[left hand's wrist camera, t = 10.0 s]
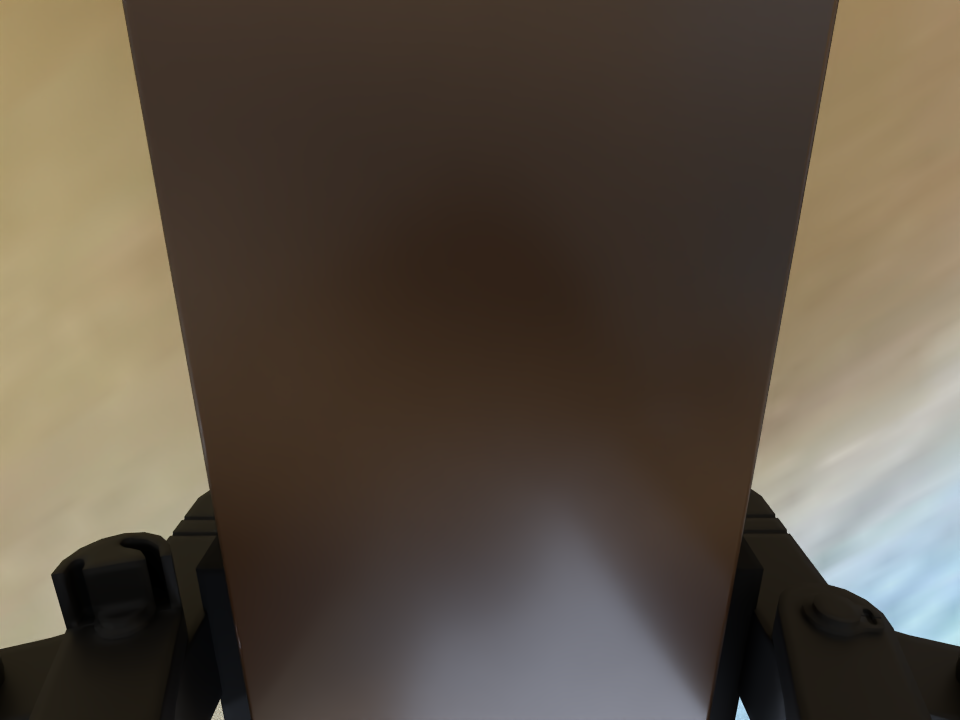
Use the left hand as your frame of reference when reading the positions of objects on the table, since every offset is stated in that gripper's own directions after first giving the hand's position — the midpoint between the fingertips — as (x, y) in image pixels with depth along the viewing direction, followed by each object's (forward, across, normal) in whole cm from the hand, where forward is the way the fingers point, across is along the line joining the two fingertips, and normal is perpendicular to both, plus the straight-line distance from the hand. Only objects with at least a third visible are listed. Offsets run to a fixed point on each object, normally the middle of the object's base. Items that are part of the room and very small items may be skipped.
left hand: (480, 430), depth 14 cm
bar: (0, 0, -24) cm, 24 cm away
